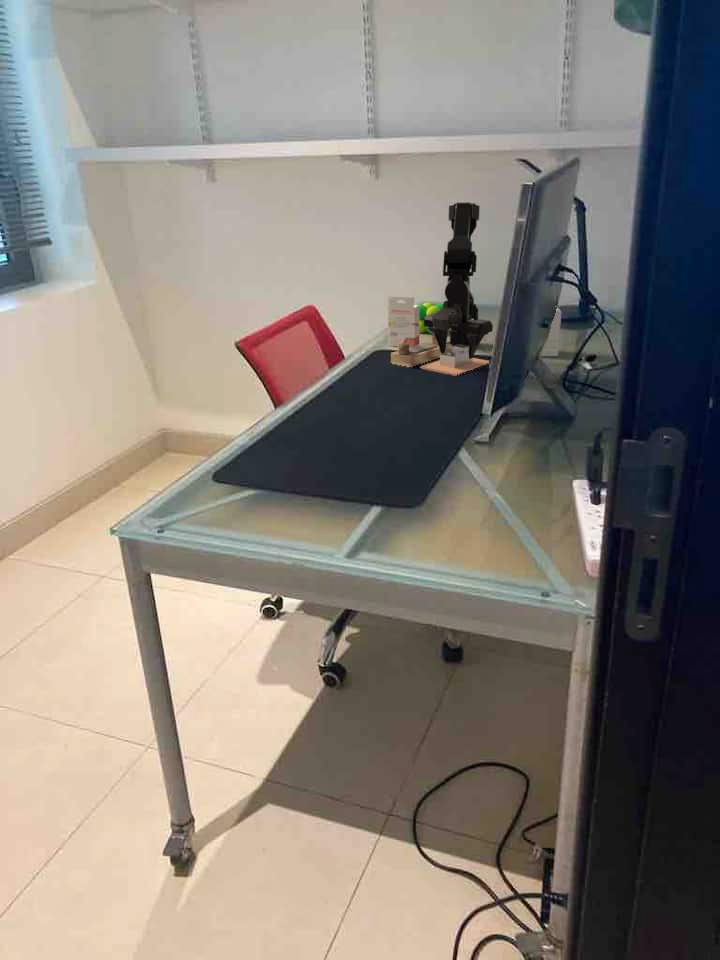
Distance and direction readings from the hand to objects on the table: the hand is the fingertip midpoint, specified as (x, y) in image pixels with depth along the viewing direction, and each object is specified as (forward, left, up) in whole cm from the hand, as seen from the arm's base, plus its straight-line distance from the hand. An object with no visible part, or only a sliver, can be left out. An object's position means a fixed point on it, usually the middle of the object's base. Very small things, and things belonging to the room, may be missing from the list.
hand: (456, 355), depth 204 cm
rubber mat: (0, 0, -3) cm, 3 cm away
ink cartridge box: (-10, -27, -3) cm, 29 cm away
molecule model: (-29, -32, -3) cm, 43 cm away
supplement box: (-26, +11, -3) cm, 28 cm away
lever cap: (0, 0, -2) cm, 2 cm away
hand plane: (0, -12, -3) cm, 12 cm away
